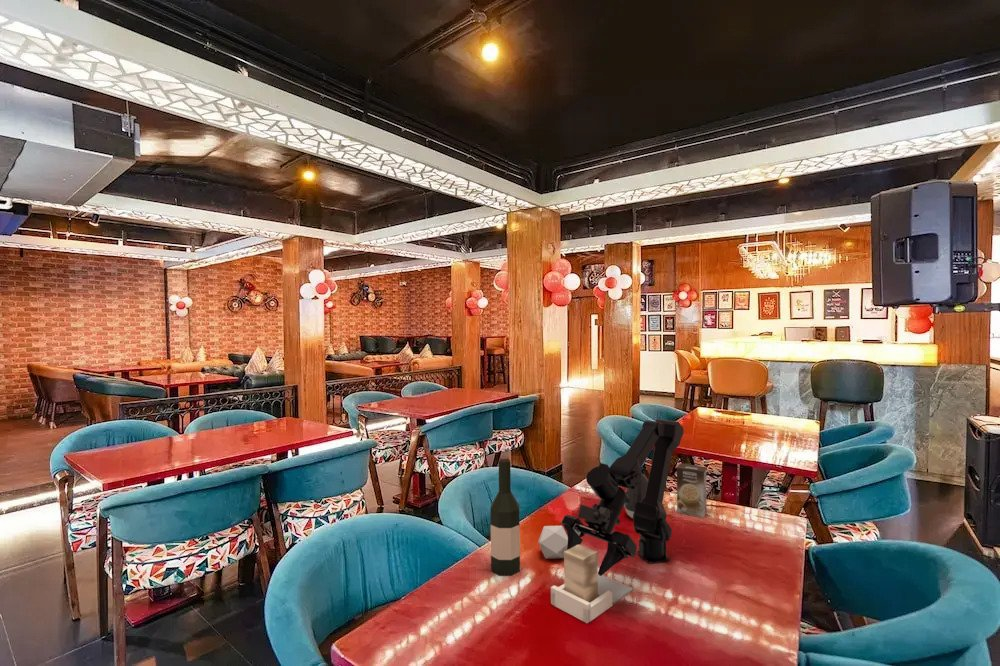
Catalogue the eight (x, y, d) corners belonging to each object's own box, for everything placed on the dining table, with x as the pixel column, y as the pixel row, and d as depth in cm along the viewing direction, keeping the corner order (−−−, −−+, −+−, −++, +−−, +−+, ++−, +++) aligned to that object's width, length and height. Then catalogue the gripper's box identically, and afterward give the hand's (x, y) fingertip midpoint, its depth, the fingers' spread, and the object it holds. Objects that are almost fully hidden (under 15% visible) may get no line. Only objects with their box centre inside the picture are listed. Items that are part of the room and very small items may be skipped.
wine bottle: (525, 564, 130) (524, 455, 130) (513, 578, 123) (512, 463, 123) (498, 558, 134) (497, 452, 134) (485, 572, 126) (483, 459, 126)
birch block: (579, 595, 114) (578, 544, 114) (598, 605, 110) (597, 551, 110) (564, 605, 111) (564, 551, 111) (583, 615, 107) (583, 559, 107)
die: (561, 569, 129) (578, 534, 132) (532, 550, 130) (550, 517, 133) (557, 566, 137) (573, 533, 140) (530, 548, 138) (547, 517, 141)
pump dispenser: (617, 514, 165) (617, 470, 165) (643, 510, 169) (643, 467, 169) (634, 525, 156) (634, 479, 156) (661, 521, 159) (660, 476, 159)
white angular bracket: (576, 588, 118) (576, 572, 118) (612, 605, 110) (612, 588, 110) (551, 604, 111) (550, 587, 111) (587, 623, 104) (587, 605, 104)
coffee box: (676, 513, 166) (675, 467, 166) (679, 507, 171) (679, 462, 171) (704, 518, 161) (703, 471, 161) (707, 512, 166) (706, 466, 166)
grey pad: (599, 574, 124) (599, 573, 124) (633, 589, 117) (633, 588, 117) (579, 587, 118) (579, 585, 118) (614, 603, 111) (614, 602, 111)
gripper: (565, 482, 122) (536, 538, 114) (629, 500, 108) (602, 565, 100) (584, 505, 127) (557, 560, 119) (647, 525, 113) (622, 589, 106)
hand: (582, 567), depth 111 cm, fingers open, 9 cm apart
